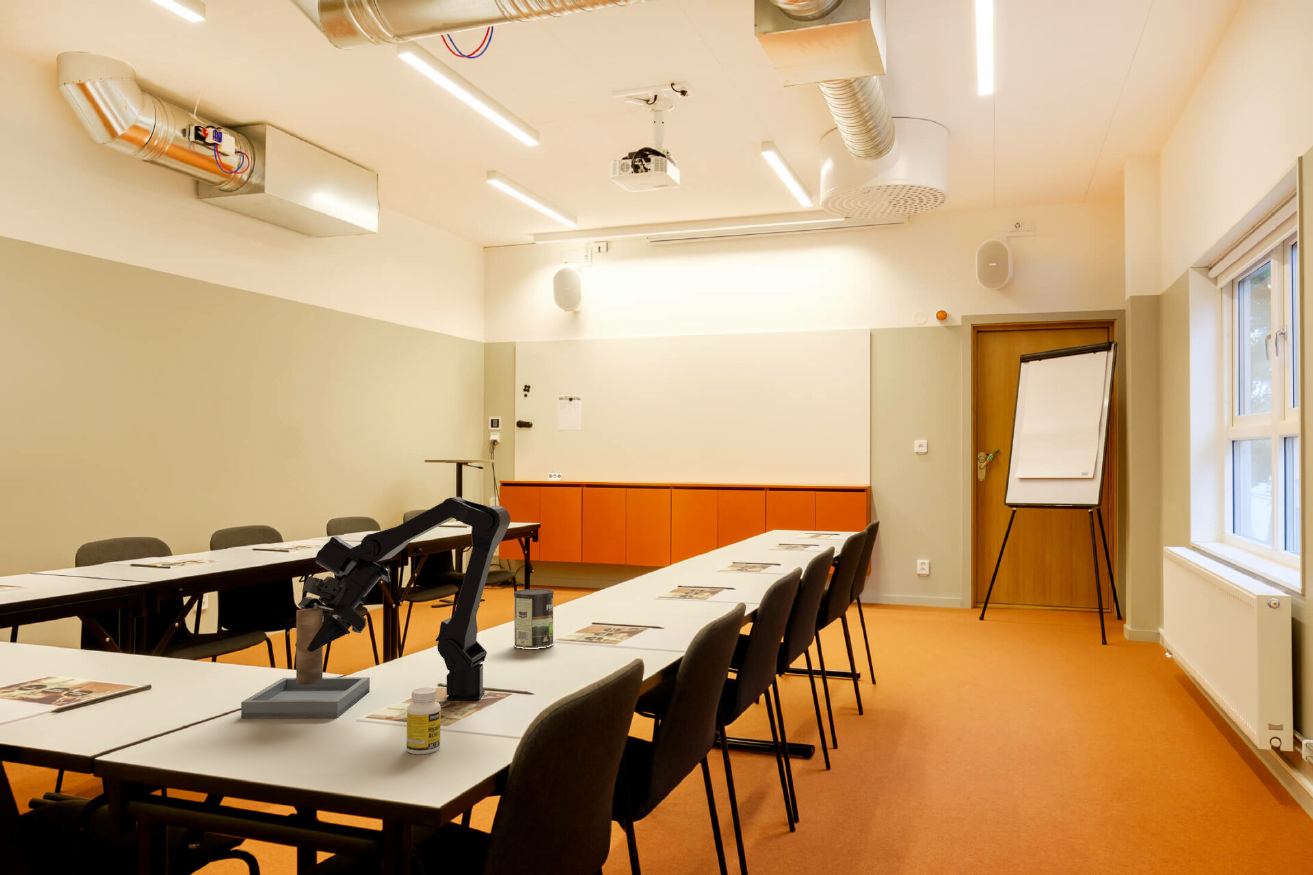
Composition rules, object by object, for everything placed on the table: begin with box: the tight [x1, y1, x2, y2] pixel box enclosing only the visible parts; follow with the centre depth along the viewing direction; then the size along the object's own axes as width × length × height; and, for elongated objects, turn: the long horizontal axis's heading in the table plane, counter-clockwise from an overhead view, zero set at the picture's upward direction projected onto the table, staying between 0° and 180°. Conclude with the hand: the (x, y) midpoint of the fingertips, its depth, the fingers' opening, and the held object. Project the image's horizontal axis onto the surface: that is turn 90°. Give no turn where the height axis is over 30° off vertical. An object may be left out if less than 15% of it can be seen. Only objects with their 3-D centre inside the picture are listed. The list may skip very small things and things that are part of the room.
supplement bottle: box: [406, 687, 442, 755], centre depth 141 cm, size 5×5×10 cm
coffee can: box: [513, 588, 555, 648], centre depth 221 cm, size 10×10×14 cm
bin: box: [240, 676, 371, 719], centre depth 168 cm, size 18×18×3 cm
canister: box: [295, 608, 324, 685], centre depth 168 cm, size 5×5×14 cm
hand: (302, 648), depth 167 cm, fingers closed on canister, 5 cm apart
